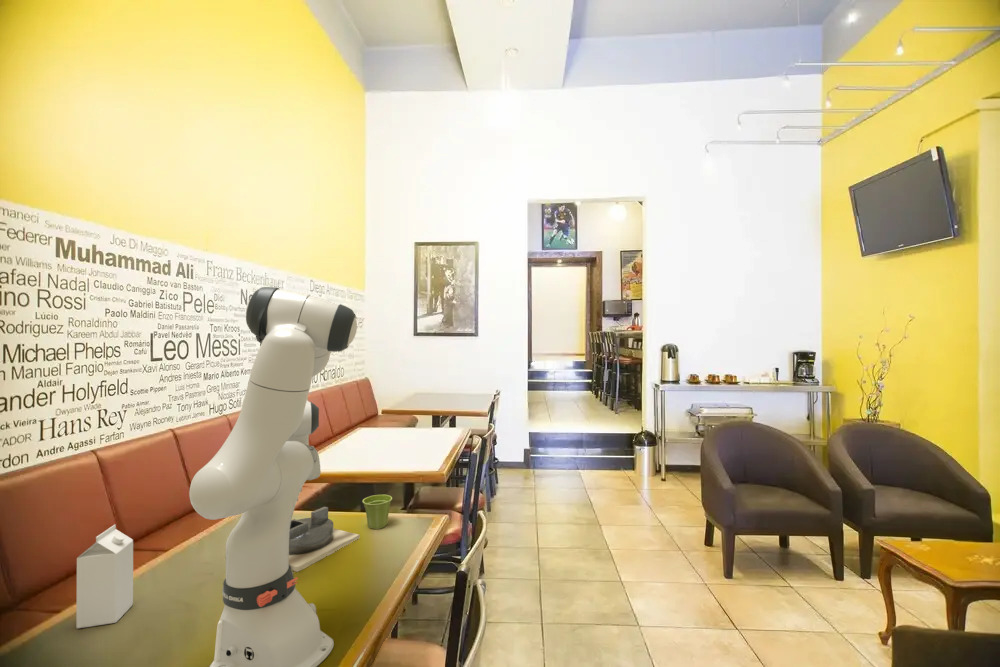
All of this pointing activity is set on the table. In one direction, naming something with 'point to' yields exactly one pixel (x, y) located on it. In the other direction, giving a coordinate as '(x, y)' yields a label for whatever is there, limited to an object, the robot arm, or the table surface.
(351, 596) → the table surface
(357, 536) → the board
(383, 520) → the plant pot
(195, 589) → the table surface
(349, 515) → the table surface
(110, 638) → the table surface
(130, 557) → the milk carton
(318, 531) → the grey disc with tab
